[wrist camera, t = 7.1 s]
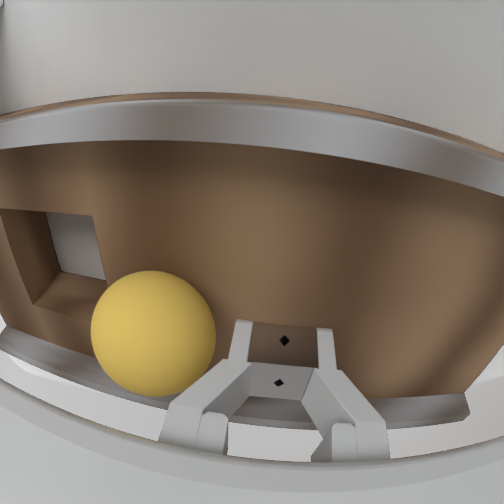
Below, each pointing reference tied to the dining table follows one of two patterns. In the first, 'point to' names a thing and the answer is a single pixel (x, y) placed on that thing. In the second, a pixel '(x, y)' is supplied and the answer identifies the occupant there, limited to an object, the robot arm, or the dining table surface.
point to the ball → (153, 333)
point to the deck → (263, 237)
